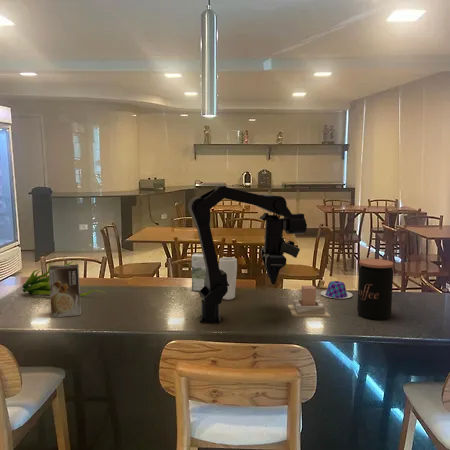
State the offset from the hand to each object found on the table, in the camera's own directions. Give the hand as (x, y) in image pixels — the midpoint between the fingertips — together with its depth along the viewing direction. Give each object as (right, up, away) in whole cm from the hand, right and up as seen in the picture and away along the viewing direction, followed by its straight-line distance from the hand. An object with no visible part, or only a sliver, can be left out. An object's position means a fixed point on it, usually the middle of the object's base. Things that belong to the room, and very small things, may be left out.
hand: (271, 280), depth 143 cm
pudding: (+28, -9, +25) cm, 38 cm away
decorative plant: (-77, -9, +22) cm, 80 cm away
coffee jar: (+34, -12, +1) cm, 36 cm away
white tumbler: (-14, -9, +20) cm, 26 cm away
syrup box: (-26, -8, +32) cm, 41 cm away
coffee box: (-68, -11, +1) cm, 69 cm away
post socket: (+13, -11, +4) cm, 17 cm away
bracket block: (+13, -10, +4) cm, 17 cm away
